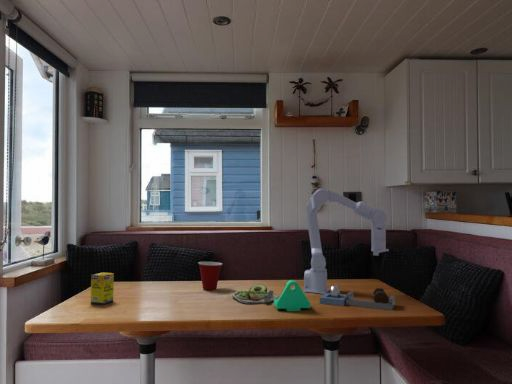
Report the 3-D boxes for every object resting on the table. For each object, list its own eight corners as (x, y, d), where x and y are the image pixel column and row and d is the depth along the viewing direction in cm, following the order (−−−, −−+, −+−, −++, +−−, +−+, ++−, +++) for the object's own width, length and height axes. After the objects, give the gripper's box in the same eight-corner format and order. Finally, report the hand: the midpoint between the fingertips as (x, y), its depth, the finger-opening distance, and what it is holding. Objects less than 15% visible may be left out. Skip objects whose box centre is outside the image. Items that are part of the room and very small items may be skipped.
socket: (319, 303, 146) (319, 297, 146) (326, 298, 154) (326, 292, 154) (343, 306, 142) (343, 300, 142) (349, 300, 150) (349, 294, 150)
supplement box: (103, 305, 144) (104, 275, 144) (90, 304, 145) (90, 274, 146) (113, 301, 149) (114, 272, 150) (100, 300, 151) (101, 272, 151)
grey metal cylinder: (329, 302, 147) (329, 286, 147) (331, 300, 150) (331, 285, 150) (338, 303, 146) (338, 287, 146) (340, 301, 149) (340, 285, 149)
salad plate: (287, 304, 146) (287, 292, 146) (241, 308, 141) (241, 295, 141) (270, 293, 164) (270, 282, 165) (229, 296, 159) (229, 285, 159)
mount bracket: (345, 304, 144) (345, 295, 144) (350, 300, 151) (350, 291, 151) (392, 310, 136) (392, 300, 137) (394, 304, 144) (394, 295, 144)
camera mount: (305, 305, 144) (305, 277, 144) (310, 310, 136) (310, 281, 137) (273, 306, 143) (273, 278, 143) (276, 311, 135) (276, 282, 136)
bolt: (380, 301, 157) (383, 309, 143) (369, 294, 158) (370, 302, 144) (388, 289, 157) (391, 296, 142) (376, 282, 158) (378, 288, 143)
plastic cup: (227, 290, 169) (227, 262, 170) (204, 293, 163) (205, 264, 164) (215, 285, 178) (215, 259, 179) (193, 288, 172) (193, 261, 173)
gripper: (385, 240, 155) (386, 274, 155) (390, 237, 168) (391, 269, 168) (367, 239, 158) (368, 273, 158) (373, 237, 171) (374, 267, 171)
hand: (378, 270), depth 163 cm, fingers closed
